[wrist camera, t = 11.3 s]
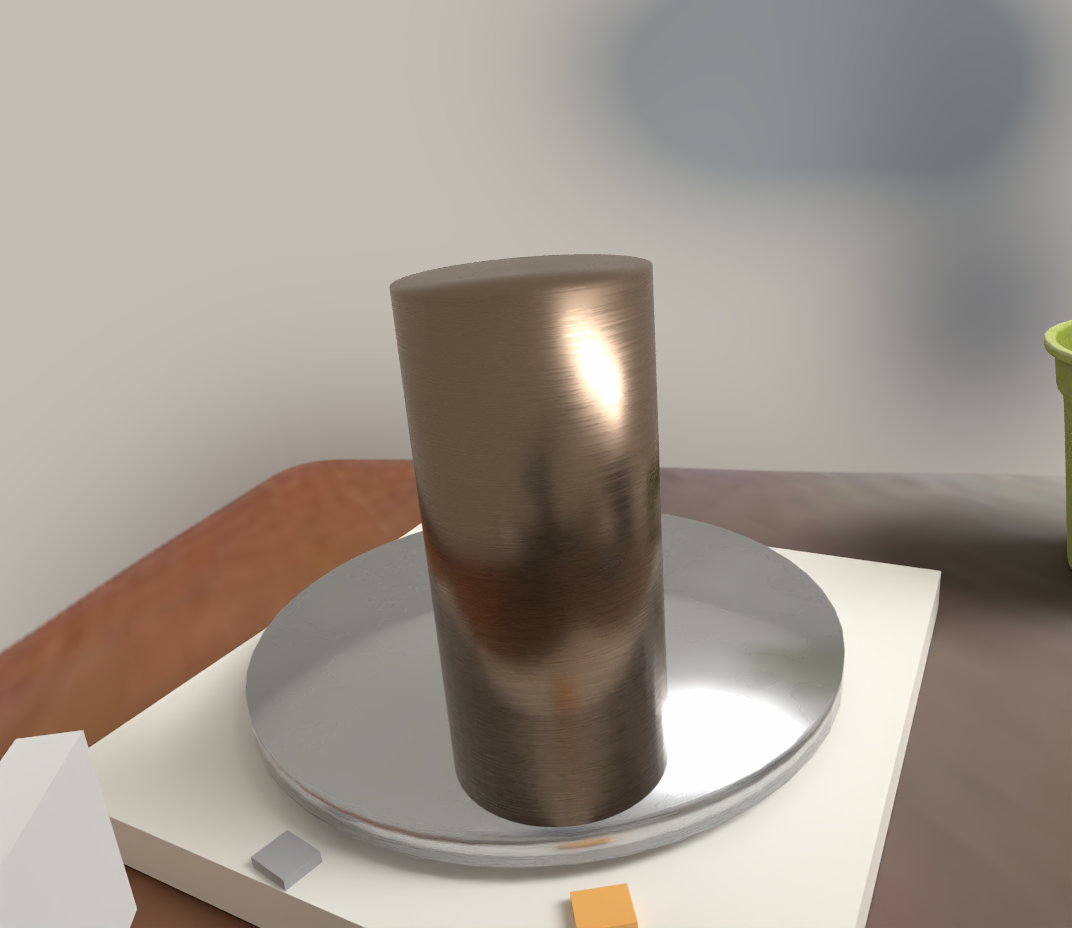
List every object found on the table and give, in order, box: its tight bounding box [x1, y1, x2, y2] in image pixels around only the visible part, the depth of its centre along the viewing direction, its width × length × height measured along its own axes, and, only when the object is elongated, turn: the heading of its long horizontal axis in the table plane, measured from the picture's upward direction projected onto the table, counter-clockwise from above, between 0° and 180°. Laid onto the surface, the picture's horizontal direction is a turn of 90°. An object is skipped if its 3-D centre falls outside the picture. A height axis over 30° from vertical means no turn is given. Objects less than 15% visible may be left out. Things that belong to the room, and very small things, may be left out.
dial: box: [245, 254, 845, 868], centre depth 25 cm, size 17×17×12 cm
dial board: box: [89, 523, 941, 928], centre depth 27 cm, size 20×20×2 cm
